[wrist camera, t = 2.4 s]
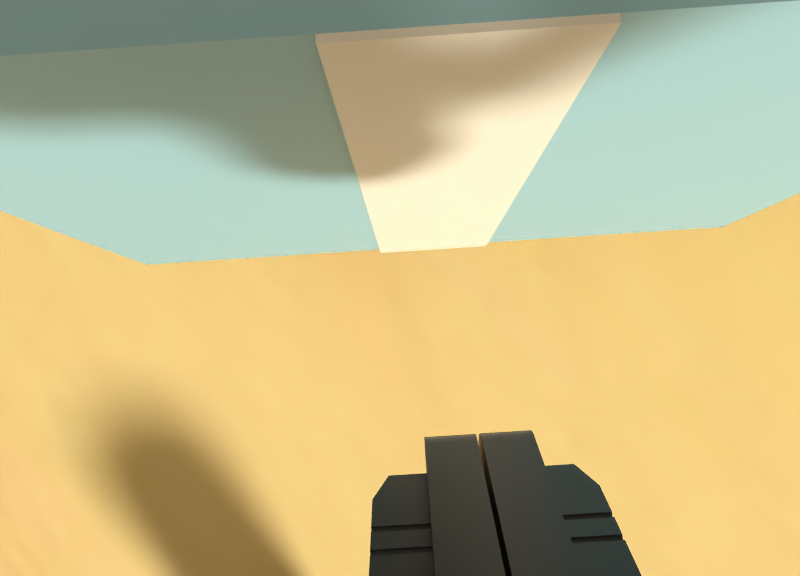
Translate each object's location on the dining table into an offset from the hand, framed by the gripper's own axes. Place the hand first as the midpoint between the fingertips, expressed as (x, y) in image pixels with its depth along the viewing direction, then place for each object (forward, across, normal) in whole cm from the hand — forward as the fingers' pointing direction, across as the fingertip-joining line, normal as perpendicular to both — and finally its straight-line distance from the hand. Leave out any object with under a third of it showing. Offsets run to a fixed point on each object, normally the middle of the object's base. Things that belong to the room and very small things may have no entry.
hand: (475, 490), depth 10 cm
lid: (+5, 0, -4) cm, 7 cm away
